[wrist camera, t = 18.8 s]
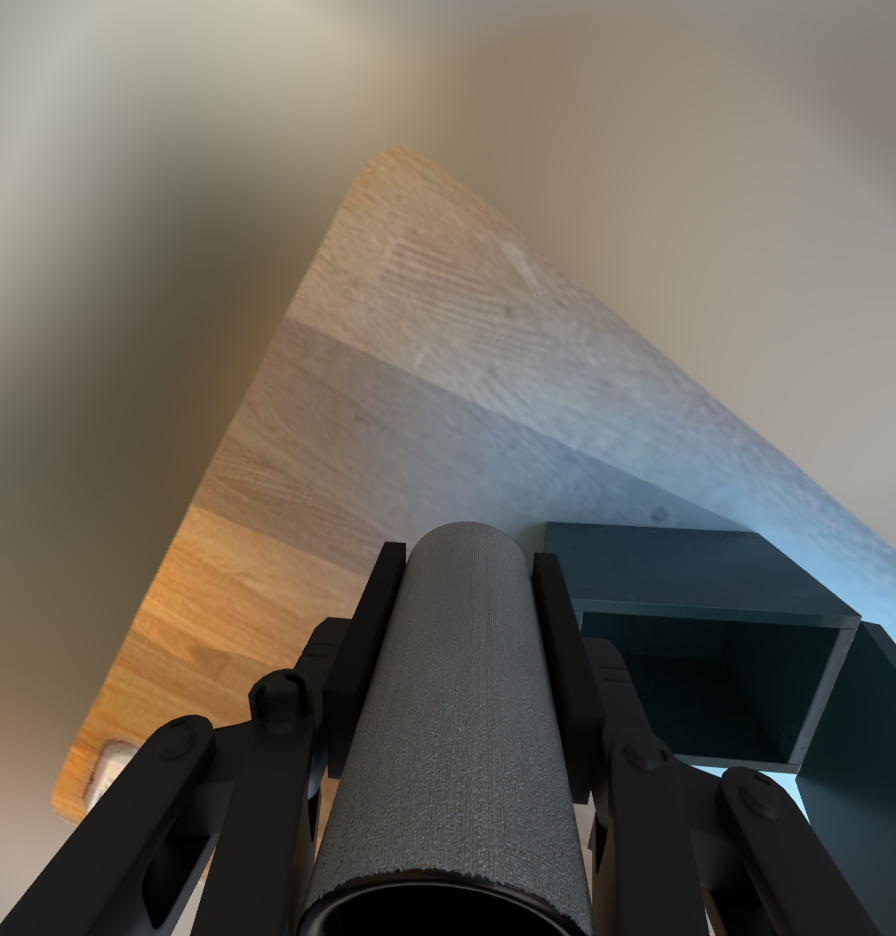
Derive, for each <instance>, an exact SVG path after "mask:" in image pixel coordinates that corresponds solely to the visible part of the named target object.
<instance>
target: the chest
mask: <svg viewBox="0 0 896 936" xmlns="http://www.w3.org/2000/svg"><path fill="white" fill-rule="evenodd" d="M543 553H551V554H557V557H558V560H559V564H560V567H561V570H562V573H563V577H564V580H565V583H566V586H567V590H568V593H569V596H570V599H571V603H572V606H573V609H574V612H575V616H576V619H577V622H578V625H579V629H580V632H581V635H582V637H591V638H603V639H608V640H609V641H610V642H611V643H612V644H613V645H614V646H615V647H616V648H617V649H618V651H619V652H620V653H621V655H622V658H623V660H624V663H625V665H626V668H627V671H628V673H629V675H630V677H631V680H632V684H633V685H634V687H635V690H636V692H637V695H638V697H639V700H640V702H641V705H642V707H643V709H644V712H645V714H646V717H647V719H648V722H649V724H650V727H651V729H652V731H653V733H654V735H655V736H657V737H658V738H659V739H661V740H662V741H663V742H664V743H665V744H666V745H667V746H668V748H669V749H670V750H671V751H672V753H673V755H674V757H676V758H677V759H679V760H680V761H682V762H684V763H686V764H688V765H695V766H706V767H718V768H730V767H736V766H743V767H747V768H751V769H755V770H757V771H765V772H777V773H789V774H798V771H799V769H800V766H801V764H802V761H803V759H804V757H805V754H806V752H807V749H808V747H809V744H810V742H811V740H812V737H813V735H814V732H815V730H816V727H817V725H818V722H819V720H820V718H821V715H822V713H823V710H824V708H825V705H826V703H827V701H828V698H829V696H830V693H831V691H832V688H833V686H834V683H835V681H836V679H837V676H838V674H839V671H840V669H841V666H842V664H843V662H844V659H845V657H846V654H847V652H848V649H849V647H850V644H851V642H852V640H853V637H854V635H855V632H856V630H857V627H858V625H859V623H860V620H861V618H862V616H861V615H860V614H859V613H857V612H856V611H855V610H854V609H852V608H851V607H850V606H849V605H847V604H846V603H845V602H844V601H842V600H841V599H840V598H839V597H837V596H836V595H835V594H834V593H832V592H831V591H830V590H829V589H827V588H826V587H825V586H824V585H822V584H821V583H820V582H819V581H817V580H816V579H815V578H814V577H812V576H811V575H810V574H809V573H807V572H806V571H805V570H804V569H802V568H801V567H800V566H799V565H797V564H796V563H795V562H794V561H792V560H791V559H790V558H789V557H787V556H786V555H785V554H784V553H782V552H781V551H780V550H779V549H777V548H776V547H775V546H774V545H772V544H771V543H770V542H769V541H767V540H766V539H764V537H762V536H761V535H760V534H759V533H747V532H728V531H708V530H689V529H669V528H650V527H630V526H611V525H591V524H572V523H552V522H547V523H546V532H545V542H544V551H543Z"/></svg>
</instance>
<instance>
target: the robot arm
mask: <svg viewBox="0 0 896 936" xmlns="http://www.w3.org/2000/svg"><path fill="white" fill-rule="evenodd" d="M405 566H406V543H398V542H385V543H384V545H383V547H382V550H381V552H380V554H379V557H378V559H377V562H376V564H375V566H374V569H373V571H372V573H371V576H370V578H369V580H368V583H367V585H366V587H365V590H364V592H363V594H362V597H361V599H360V601H359V604H358V606H357V608H356V611H355V613H354V615H353V618H352V619H346V618H333V617H328V618H326V619H325V620H324V621H323V622H322V623H321V624H319V625H318V626H317V627H316V628H315V629H314V631H313V633H312V635H311V637H310V639H309V641H308V644H306V646H305V648H304V650H303V652H302V655H301V656H300V657H299V659H298V661H297V663H296V665H295V667H294V669H282V670H277V671H274V672H272V673H270V674H268V675H266V676H264V677H262V678H261V679H260V680H259V681H258V682H257V683H255V684H254V685H253V687H252V689H251V691H250V692H249V694H248V697H249V704H250V711H251V717H252V720H250V721H247V722H244V723H240V724H236V725H231V726H226V727H221V728H215V729H213V726H212V724H211V722H210V721H209V720H208V719H207V718H206V717H203V716H200V715H186V716H182V717H180V718H177V719H174V720H171V721H170V722H168V723H166V724H165V725H163V726H161V727H160V728H158V729H157V730H156V731H155V732H154V733H153V734H152V735H151V736H150V737H149V738H148V739H147V740H146V742H145V743H144V744H143V745H142V747H141V748H140V749H139V750H138V752H137V753H136V754H135V756H134V757H133V758H132V759H131V761H130V762H129V763H128V764H127V766H126V767H125V768H124V769H123V771H122V772H121V773H120V774H119V776H118V777H117V778H116V779H115V781H114V782H113V783H112V784H111V786H110V787H109V788H108V789H107V791H106V792H105V793H104V794H103V796H102V797H101V798H100V799H99V801H98V802H97V803H96V804H95V806H94V807H93V808H92V809H91V811H90V812H89V813H88V814H87V816H86V817H85V818H84V820H83V821H82V822H81V823H80V825H79V826H78V827H77V828H76V830H75V831H74V832H73V833H72V835H71V836H70V837H69V838H68V840H67V841H66V842H65V843H64V845H63V846H62V847H61V849H60V850H59V851H58V852H57V853H56V855H55V856H54V857H53V858H52V860H51V861H50V862H49V864H48V865H47V866H46V867H45V868H44V870H43V871H42V872H41V874H40V875H39V876H38V877H37V879H36V880H35V881H34V882H33V884H32V885H31V886H30V887H29V889H28V890H27V891H26V892H25V894H24V895H23V896H22V897H21V899H20V900H19V901H18V902H17V904H16V905H15V906H14V908H13V909H12V910H11V911H10V912H9V914H8V915H7V916H6V917H5V919H4V920H3V921H2V923H1V924H0V936H171V934H172V932H173V930H174V928H175V926H176V924H177V922H178V920H179V918H180V916H181V914H182V912H183V910H184V908H185V906H186V904H187V902H188V900H189V898H190V896H191V894H192V893H193V891H194V889H195V887H196V885H197V883H198V881H199V879H200V877H201V875H202V873H203V871H204V869H205V867H206V865H207V863H208V861H209V859H210V857H211V855H212V853H213V851H214V849H215V847H216V849H215V852H214V856H213V859H212V862H211V866H210V869H209V873H208V876H207V879H206V883H205V886H204V889H203V893H202V897H201V900H200V903H199V906H198V910H197V913H196V917H195V921H194V924H193V927H192V930H191V934H190V936H295V932H296V926H297V922H298V918H299V915H300V911H301V908H302V904H303V901H304V897H305V894H306V891H307V887H308V884H309V881H310V878H311V874H312V871H313V868H314V860H315V851H316V842H317V833H318V824H319V814H320V805H321V788H320V783H321V780H322V777H323V774H324V772H325V769H326V766H328V778H334V779H341V776H342V773H343V769H344V766H345V763H346V759H347V756H348V753H349V750H350V746H351V743H352V740H353V737H354V733H355V730H356V727H357V723H358V720H359V717H360V714H361V710H362V707H363V704H364V700H365V697H366V694H367V691H368V687H369V684H370V681H371V678H372V674H373V671H374V668H375V664H376V661H377V658H378V655H379V651H380V648H381V645H382V641H383V638H384V635H385V632H386V628H387V625H388V622H389V619H390V615H391V612H392V609H393V605H394V602H395V599H396V596H397V592H398V589H399V586H400V583H401V579H402V576H403V573H404V569H405ZM532 585H533V590H534V596H535V601H536V606H537V612H538V617H539V623H540V628H541V634H542V639H543V644H544V650H545V655H546V661H547V666H548V672H549V677H550V682H551V688H552V693H553V699H554V704H555V709H556V715H557V720H558V726H559V731H560V737H561V742H562V747H563V753H564V758H565V764H566V769H567V774H568V780H569V785H570V791H571V796H572V802H573V803H575V804H584V805H587V804H588V799H589V795H590V790H591V792H592V796H593V801H594V805H595V809H596V812H595V816H594V821H593V825H592V830H591V834H590V839H589V843H588V848H587V849H590V850H592V910H593V916H594V921H595V927H596V932H597V936H710V935H709V929H708V924H707V919H706V913H705V909H706V912H707V915H708V917H709V920H710V922H711V925H712V928H713V930H714V933H715V936H882V935H881V934H880V932H879V930H878V929H877V927H876V926H875V924H874V923H873V921H872V920H871V918H870V917H869V915H868V914H867V912H866V910H865V909H864V907H863V906H862V904H861V903H860V901H859V900H858V898H857V897H856V895H855V893H854V892H853V890H852V889H851V887H850V886H849V884H848V883H847V881H846V880H845V878H844V877H843V875H842V873H841V872H840V870H839V869H838V867H837V866H836V864H835V863H834V861H833V860H832V858H831V856H830V855H829V853H828V852H827V850H826V849H825V847H824V846H823V844H822V843H821V841H820V839H819V838H818V836H817V835H816V833H815V832H814V830H813V829H812V827H811V826H810V824H809V823H808V821H807V819H806V818H805V816H804V815H803V813H802V812H801V810H800V809H799V807H798V806H797V804H796V802H795V801H794V800H793V799H792V798H791V796H790V795H789V794H788V793H787V792H786V790H785V789H784V788H783V787H781V786H780V785H779V784H778V783H776V782H775V781H774V780H773V779H771V778H770V777H768V776H766V775H765V774H763V773H761V772H759V771H757V770H755V769H751V768H747V767H743V766H736V767H730V768H728V769H727V770H726V771H725V772H724V773H723V774H722V777H718V776H715V775H713V774H710V773H708V772H705V771H702V770H700V769H697V768H694V767H692V766H690V765H688V764H686V763H684V762H682V761H680V760H679V759H677V758H676V757H674V755H673V753H672V751H671V750H670V749H669V748H668V746H667V745H666V744H665V743H664V742H663V741H662V740H661V739H659V738H658V737H657V736H655V735H654V733H653V731H652V729H651V727H650V724H649V722H648V719H647V717H646V714H645V712H644V709H643V707H642V705H641V702H640V700H639V697H638V695H637V692H636V690H635V687H634V685H633V684H632V680H631V677H630V675H629V673H628V671H627V668H626V665H625V663H624V660H623V658H622V655H621V653H620V652H619V651H618V649H617V648H616V647H615V646H614V645H613V644H612V643H611V642H610V641H609V640H608V639H603V638H591V637H582V635H581V632H580V629H579V625H578V622H577V619H576V616H575V612H574V609H573V606H572V603H571V599H570V596H569V593H568V590H567V586H566V583H565V580H564V577H563V573H562V570H561V567H560V564H559V560H558V557H557V554H551V553H537V552H535V554H534V563H533V571H532ZM704 907H705V908H704Z"/></svg>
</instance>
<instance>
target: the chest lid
mask: <svg viewBox="0 0 896 936" xmlns="http://www.w3.org/2000/svg"><path fill="white" fill-rule="evenodd" d="M795 781H796V784H797V787H798V790H799V793H800V796H801V799H802V802H803V804H804V807H805V810H806V813H807V816H808V819H809V822H810V825H811V827H812V829H813V830H814V832H815V833H816V835H817V836H818V838H819V839H820V841H821V843H822V844H823V846H824V847H825V849H826V850H827V852H828V853H829V855H830V856H831V858H832V860H833V861H834V863H835V864H836V866H837V867H838V869H839V870H840V872H841V873H842V875H843V877H844V878H845V880H846V881H847V883H848V884H849V886H850V887H851V889H852V890H853V892H854V893H855V895H856V897H857V898H858V900H859V901H860V903H861V904H862V906H863V907H864V909H865V910H866V912H867V914H868V915H869V917H870V918H871V920H872V921H873V923H874V924H875V926H876V927H877V929H878V930H879V932H880V934H881V935H882V936H896V644H895V643H894V641H893V640H892V639H891V638H890V636H889V635H888V634H887V633H886V631H885V630H884V629H883V628H882V626H881V625H879V624H874V623H870V622H865V621H860V623H859V625H858V627H857V630H856V632H855V635H854V637H853V640H852V642H851V644H850V647H849V649H848V652H847V654H846V657H845V659H844V662H843V664H842V666H841V669H840V671H839V674H838V676H837V679H836V681H835V683H834V686H833V688H832V691H831V693H830V696H829V698H828V701H827V703H826V705H825V708H824V710H823V713H822V715H821V718H820V720H819V722H818V725H817V727H816V730H815V732H814V735H813V737H812V740H811V742H810V744H809V747H808V749H807V752H806V754H805V757H804V759H803V761H802V764H801V766H800V769H799V771H798V774H797V776H796V779H795Z"/></svg>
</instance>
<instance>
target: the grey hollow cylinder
mask: <svg viewBox="0 0 896 936" xmlns="http://www.w3.org/2000/svg"><path fill="white" fill-rule="evenodd" d="M295 936H597V932H596V927H595V921H594V916H593V910H592V905H591V899H590V894H589V888H588V883H587V877H586V872H585V867H584V861H583V856H582V850H581V845H580V840H579V834H578V829H577V823H576V818H575V812H574V807H573V802H572V796H571V791H570V785H569V780H568V774H567V769H566V764H565V758H564V753H563V747H562V742H561V737H560V731H559V726H558V720H557V715H556V709H555V704H554V699H553V693H552V688H551V682H550V677H549V672H548V666H547V661H546V655H545V650H544V644H543V639H542V634H541V628H540V623H539V617H538V612H537V606H536V601H535V596H534V590H533V585H532V579H531V574H530V571H529V567H528V564H527V561H526V558H525V556H524V554H523V552H522V550H521V549H520V547H519V546H518V545H517V544H516V543H515V542H514V541H513V540H512V539H511V538H510V537H509V536H508V535H506V534H505V533H503V532H502V531H500V530H498V529H496V528H494V527H492V526H489V525H486V524H482V523H477V522H455V523H450V524H446V525H443V526H440V527H438V528H436V529H434V530H432V531H430V532H429V533H428V534H426V535H425V536H424V537H423V538H422V539H421V540H420V541H419V542H418V543H417V544H416V545H415V547H414V548H413V550H412V552H411V554H410V556H409V559H408V561H407V564H406V566H405V569H404V573H403V576H402V579H401V583H400V586H399V589H398V592H397V596H396V599H395V602H394V605H393V609H392V612H391V615H390V619H389V622H388V625H387V628H386V632H385V635H384V638H383V641H382V645H381V648H380V651H379V655H378V658H377V661H376V664H375V668H374V671H373V674H372V678H371V681H370V684H369V687H368V691H367V694H366V697H365V700H364V704H363V707H362V710H361V714H360V717H359V720H358V723H357V727H356V730H355V733H354V737H353V740H352V743H351V746H350V750H349V753H348V756H347V759H346V763H345V766H344V769H343V773H342V776H341V779H340V782H339V786H338V789H337V792H336V796H335V799H334V802H333V805H332V809H331V812H330V815H329V818H328V822H327V825H326V828H325V832H324V835H323V838H322V841H321V845H320V848H319V851H318V854H317V858H316V861H315V864H314V868H313V871H312V874H311V878H310V881H309V884H308V887H307V891H306V894H305V897H304V901H303V904H302V908H301V911H300V915H299V918H298V922H297V926H296V932H295Z"/></svg>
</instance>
